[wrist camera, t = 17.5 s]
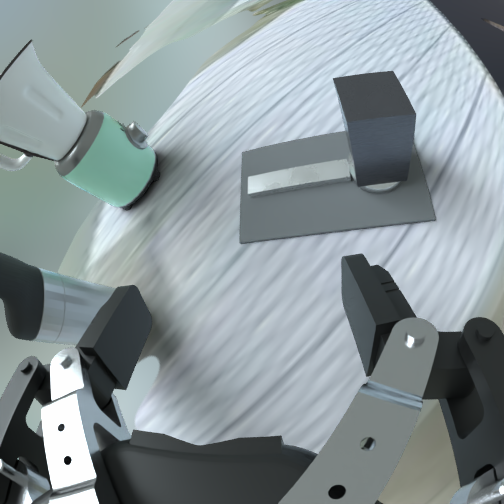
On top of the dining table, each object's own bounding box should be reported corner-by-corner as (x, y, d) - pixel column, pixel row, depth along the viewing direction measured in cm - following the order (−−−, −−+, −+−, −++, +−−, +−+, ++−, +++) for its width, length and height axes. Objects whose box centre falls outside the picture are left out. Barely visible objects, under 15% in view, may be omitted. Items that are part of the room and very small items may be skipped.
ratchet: (251, 213, 35) (231, 193, 30) (251, 167, 37) (233, 145, 32) (409, 191, 27) (415, 165, 22) (396, 143, 29) (397, 114, 24)
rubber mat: (241, 243, 35) (239, 242, 34) (243, 154, 39) (242, 152, 38) (434, 220, 26) (435, 219, 25) (405, 126, 30) (405, 124, 29)
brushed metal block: (357, 187, 28) (346, 122, 19) (348, 145, 30) (332, 78, 20) (407, 180, 26) (416, 114, 16) (394, 139, 28) (392, 70, 18)
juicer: (157, 134, 50) (34, 34, 19) (180, 166, 44) (18, 39, 13) (99, 199, 52) (-28, 129, 22) (111, 240, 46) (-51, 166, 16)
